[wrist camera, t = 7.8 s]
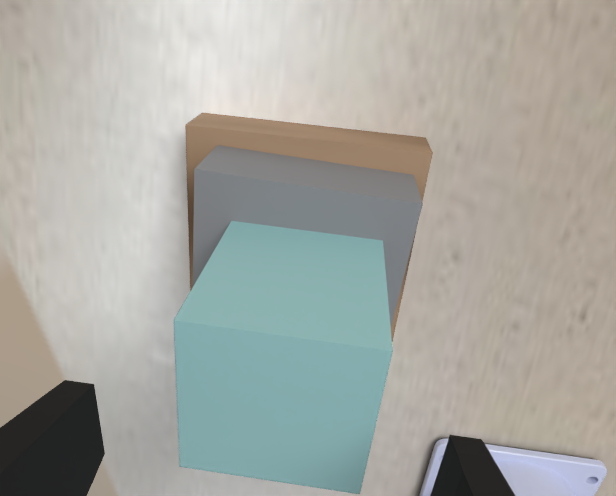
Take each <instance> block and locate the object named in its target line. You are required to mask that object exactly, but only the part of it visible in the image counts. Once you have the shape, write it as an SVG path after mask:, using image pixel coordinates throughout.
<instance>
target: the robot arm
mask: <svg viewBox="0 0 616 496" xmlns="http://www.w3.org/2000/svg"><path fill="white" fill-rule="evenodd" d="M104 454H105V453H104V446H103V440H102V433H101V427H100V421H99V414H98V408H97V401H96V395H95V389H94V384H88V383H81V382H74V381H67V380H65V381H63V382H62V383H60V384H59V385H58V386H56V387H55V388H54V389H52V390H51V391H49V392H48V393H47V394H45V395H44V396H43V397H41V398H40V399H39V400H37V401H36V402H35V403H33V404H32V405H31V406H29V407H28V408H27V409H25V410H24V411H22V412H21V413H20V414H18V415H17V416H16V417H14V418H13V419H12V420H10V421H9V422H8V423H6V424H5V425H4V426H2V427H1V428H0V496H86V495H87V493H88V491H89V489H90V486H91V484H92V482H93V480H94V478H95V475H96V473H97V470H98V468H99V466H100V463H101V461H102V459H103V456H104ZM442 455H443V456H442ZM606 474H607V469H606V467H605V465H604V463H603V462H601V461H599V460H595V459H588V458H581V457H574V456H567V455H559V454H552V453H545V452H538V451H531V450H524V449H517V448H510V447H503V446H496V445H489V444H484V442H483V441H482V440H481V439H475V438H468V437H461V436H454V435H450V436H449V439H440V440H439V441H437V442H436V444H435V446H434V449H433V453H432V456H431V459H430V463H429V466H428V469H427V472H426V476H425V479H424V482H423V485H422V489H421V492H420V495H419V496H594V495H595V493H596V492H597V490H598V488H599V486H600V485H601V483H602V481H603V479H604V478H605V476H606Z"/></svg>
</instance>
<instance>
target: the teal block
mask: <svg viewBox="0 0 616 496" xmlns="http://www.w3.org/2000/svg"><path fill="white" fill-rule="evenodd" d="M174 339H175V363H176V388H177V412H178V437H179V461H180V467H185V468H192V469H198V470H205V471H211V472H218V473H225V474H231V475H238V476H244V477H251V478H257V479H264V480H270V481H277V482H283V483H290V484H296V485H303V486H309V487H316V488H323V489H329V490H336V491H342V492H349V493H355V494H360V491H361V487H362V482H363V478H364V474H365V469H366V465H367V461H368V456H369V452H370V448H371V443H372V439H373V435H374V430H375V426H376V421H377V417H378V413H379V408H380V404H381V400H382V395H383V391H384V387H385V382H386V378H387V374H388V369H389V365H390V361H391V356H392V352H393V349H392V338H391V326H390V315H389V304H388V292H387V281H386V270H385V259H384V247H383V240H375V239H367V238H360V237H352V236H344V235H337V234H329V233H321V232H314V231H306V230H298V229H291V228H283V227H275V226H268V225H260V224H252V223H245V222H237V221H231V222H230V224H229V226H228V228H227V229H226V231H225V233H224V235H223V236H222V238H221V240H220V241H219V243H218V245H217V247H216V248H215V250H214V252H213V254H212V255H211V257H210V259H209V260H208V262H207V264H206V266H205V267H204V269H203V271H202V272H201V274H200V276H199V278H198V279H197V281H196V283H195V285H194V286H193V288H192V290H191V291H190V293H189V295H188V297H187V298H186V300H185V302H184V303H183V305H182V307H181V309H180V310H179V312H178V314H177V316H176V317H175V319H174Z"/></svg>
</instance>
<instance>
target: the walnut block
mask: <svg viewBox="0 0 616 496" xmlns="http://www.w3.org/2000/svg"><path fill="white" fill-rule="evenodd" d="M217 145H221V146H227V147H234V148H240V149H247V150H254V151H260V152H267V153H273V154H280V155H287V156H293V157H300V158H306V159H313V160H320V161H326V162H333V163H339V164H346V165H353V166H359V167H366V168H372V169H379V170H386V171H392V172H399V173H405V174H412V175H414V177H415V180H416V184H417V187H418V190H419V194H420V197H421V200H423V196H424V191H425V186H426V182H427V177H428V172H429V167H430V163H431V158H432V151H431V148H430V146H429V144H428V142H427V140H426V138H424V137H415V136H406V135H397V134H388V133H379V132H370V131H361V130H352V129H343V128H334V127H325V126H316V125H308V124H299V123H290V122H281V121H272V120H263V119H254V118H245V117H236V116H227V115H218V114H209V113H201V114H200V115H199V116H197V117H196V118H194V119H193V120H192V121H190V122H189V123H188V124H186V157H187V190H188V222H189V255H190V287H191V290H192V288H193V225H194V169H195V168H196V167H197V166H198V165H199V164H200V163H201V162H202V161H203V159H204V158H205V157H206V156H207V155H208V154H209V153H210V152H211V151H212V150H213V149H214V148H215V147H216V146H217ZM415 233H416V232H415ZM414 238H415V235H414ZM413 242H414V239H413ZM412 247H413V243H412ZM412 247H411V251H410V255H409V259H408V263H407V267H406V271H405V274H404V278H403V282H402V286H401V290H400V294H399V298H398V302H397V306H396V309H395V313H394V317H393V321H392V325H391V338H392V341H393V336H394V332H395V327H396V322H397V318H398V313H399V308H400V303H401V299H402V294H403V289H404V285H405V280H406V275H407V271H408V266H409V261H410V257H411V252H412Z"/></svg>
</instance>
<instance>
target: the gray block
mask: <svg viewBox="0 0 616 496" xmlns="http://www.w3.org/2000/svg"><path fill="white" fill-rule="evenodd" d="M421 208H422V200H421V197H420V194H419V190H418V187H417V184H416V180H415V177H414V175H412V174H405V173H399V172H392V171H386V170H379V169H372V168H366V167H359V166H353V165H346V164H339V163H333V162H326V161H320V160H313V159H306V158H300V157H293V156H287V155H280V154H273V153H267V152H260V151H254V150H247V149H240V148H234V147H227V146H221V145H217V146H216V147H215V148H214V149H213V150H212V151H211V152H210V153H209V154H208V155H207V156H206V157H205V158H204V159H203V161H202V162H201V163H200V164H199V165H198V166H197V167H196V168H195V169H194V225H193V286H194V285H195V283H196V281H197V279H198V278H199V276H200V274H201V272H202V271H203V269H204V267H205V266H206V264H207V262H208V260H209V259H210V257H211V255H212V254H213V252H214V250H215V248H216V247H217V245H218V243H219V241H220V240H221V238H222V236H223V235H224V233H225V231H226V229H227V228H228V226H229V224H230V222H231V221H237V222H245V223H252V224H260V225H268V226H275V227H283V228H291V229H298V230H306V231H314V232H321V233H329V234H337V235H344V236H352V237H360V238H367V239H375V240H383V247H384V259H385V270H386V281H387V292H388V304H389V315H390V326H391V325H392V321H393V317H394V313H395V309H396V306H397V302H398V298H399V294H400V290H401V286H402V282H403V278H404V274H405V271H406V267H407V263H408V259H409V255H410V251H411V247H412V243H413V239H414V235H415V232H416V228H417V224H418V220H419V216H420V212H421Z"/></svg>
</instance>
